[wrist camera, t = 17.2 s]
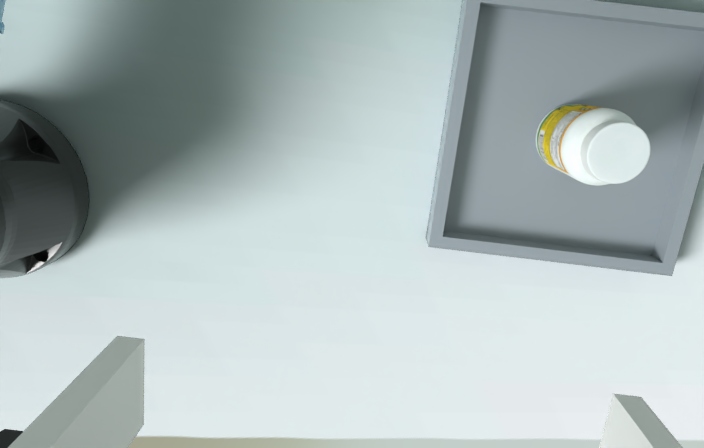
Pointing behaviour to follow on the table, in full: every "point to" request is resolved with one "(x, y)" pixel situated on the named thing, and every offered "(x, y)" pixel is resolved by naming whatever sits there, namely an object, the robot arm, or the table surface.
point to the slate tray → (549, 93)
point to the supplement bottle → (592, 144)
